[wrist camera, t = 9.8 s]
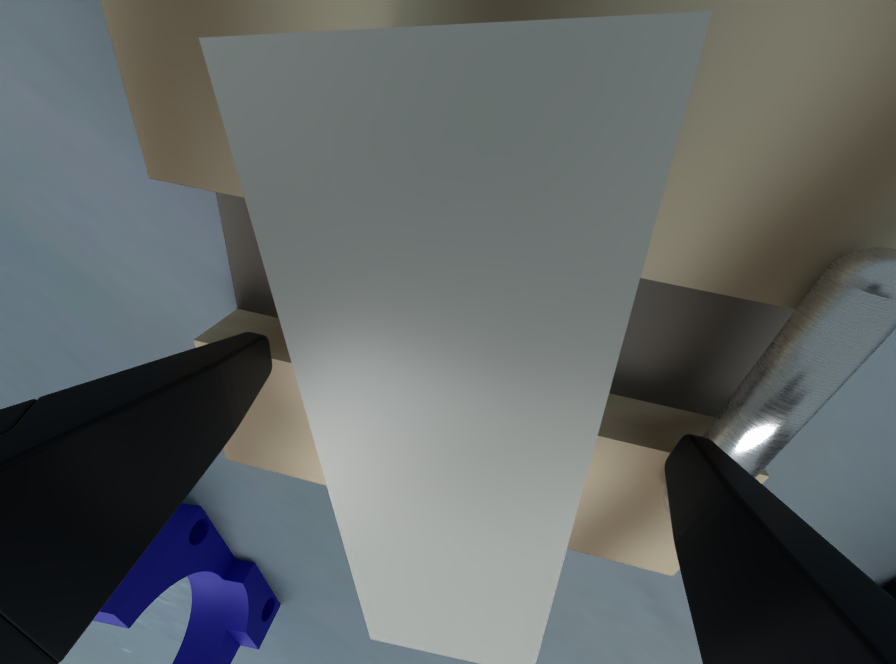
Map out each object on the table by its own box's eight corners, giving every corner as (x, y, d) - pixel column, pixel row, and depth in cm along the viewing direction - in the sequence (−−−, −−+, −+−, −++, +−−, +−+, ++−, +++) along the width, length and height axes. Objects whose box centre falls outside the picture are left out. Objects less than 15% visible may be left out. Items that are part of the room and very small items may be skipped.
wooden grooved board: (1054, -6, 7) (1521, -102, 4) (654, 514, 16) (685, 619, 13) (166, -124, 8) (-67, -269, 5) (262, 416, 18) (201, 488, 14)
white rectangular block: (598, 66, 7) (713, 9, 3) (531, 490, 13) (532, 675, 9) (385, 73, 7) (198, 37, 3) (419, 473, 14) (370, 639, 9)
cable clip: (281, 602, 29) (230, 706, 24) (231, 592, 30) (171, 691, 25) (223, 507, 23) (138, 620, 18) (162, 498, 24) (65, 604, 19)
